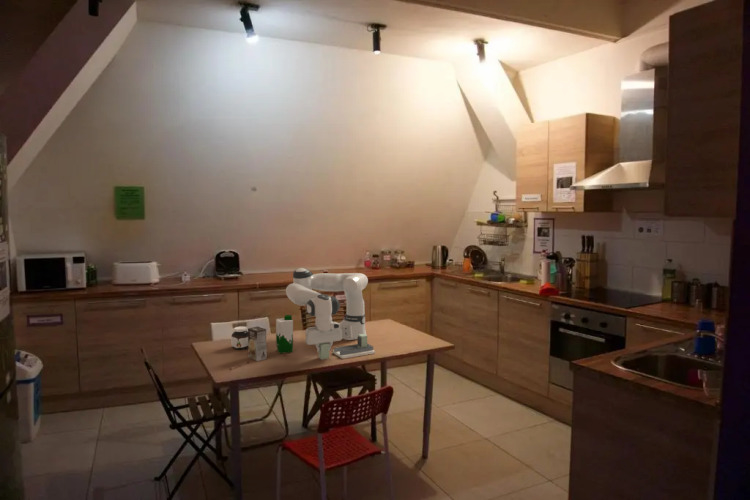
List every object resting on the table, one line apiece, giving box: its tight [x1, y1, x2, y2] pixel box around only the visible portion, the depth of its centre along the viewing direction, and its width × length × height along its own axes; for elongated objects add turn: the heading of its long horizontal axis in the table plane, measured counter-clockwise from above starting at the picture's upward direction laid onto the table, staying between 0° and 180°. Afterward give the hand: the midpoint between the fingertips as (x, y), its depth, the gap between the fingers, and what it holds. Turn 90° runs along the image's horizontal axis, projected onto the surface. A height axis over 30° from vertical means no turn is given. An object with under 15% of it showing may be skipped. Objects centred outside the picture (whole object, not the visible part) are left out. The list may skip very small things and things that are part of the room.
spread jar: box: [230, 326, 248, 350], centre depth 290 cm, size 12×11×12 cm
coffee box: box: [247, 326, 268, 362], centre depth 270 cm, size 9×6×16 cm
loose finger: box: [318, 342, 330, 361], centre depth 272 cm, size 4×4×8 cm
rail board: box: [332, 334, 376, 360], centre depth 280 cm, size 20×12×10 cm, turn 120°
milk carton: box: [275, 314, 294, 354], centre depth 283 cm, size 9×9×20 cm
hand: (323, 350), depth 272 cm, fingers closed on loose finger, 4 cm apart
